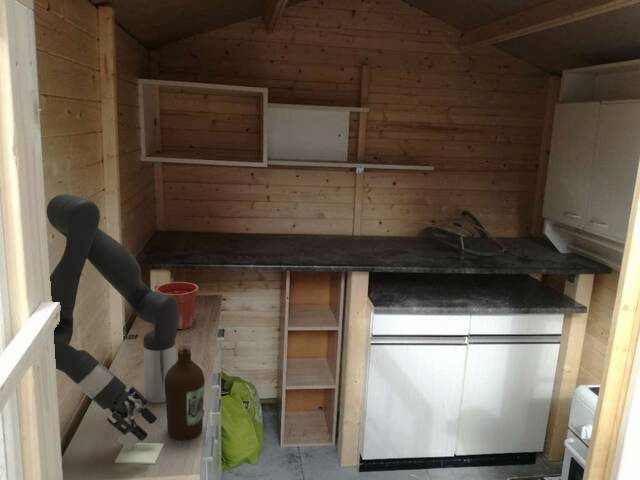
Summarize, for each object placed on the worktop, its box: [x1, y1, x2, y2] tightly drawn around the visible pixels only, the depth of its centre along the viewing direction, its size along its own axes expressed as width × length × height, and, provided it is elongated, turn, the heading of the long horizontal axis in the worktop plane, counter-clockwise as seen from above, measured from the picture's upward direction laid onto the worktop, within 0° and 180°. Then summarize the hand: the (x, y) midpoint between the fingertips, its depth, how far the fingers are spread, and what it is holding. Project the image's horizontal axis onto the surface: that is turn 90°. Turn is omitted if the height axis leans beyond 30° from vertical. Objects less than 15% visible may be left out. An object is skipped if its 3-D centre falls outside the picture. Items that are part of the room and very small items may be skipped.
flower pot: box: [155, 281, 199, 330], centre depth 220 cm, size 16×16×16 cm
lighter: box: [116, 422, 158, 449], centre depth 140 cm, size 7×2×8 cm
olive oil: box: [164, 344, 206, 441], centre depth 147 cm, size 11×11×25 cm
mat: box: [114, 442, 165, 465], centre depth 139 cm, size 8×10×1 cm
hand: (149, 429), depth 138 cm, fingers open, 7 cm apart
